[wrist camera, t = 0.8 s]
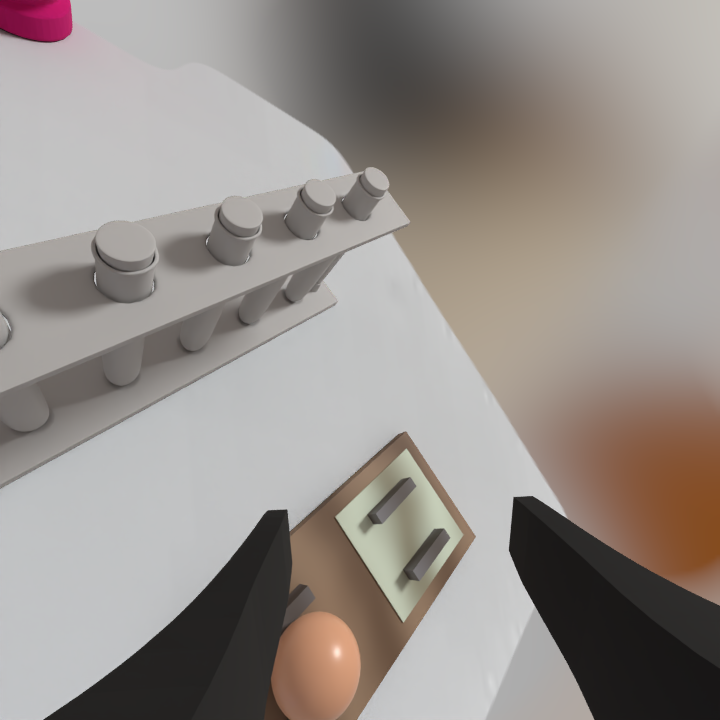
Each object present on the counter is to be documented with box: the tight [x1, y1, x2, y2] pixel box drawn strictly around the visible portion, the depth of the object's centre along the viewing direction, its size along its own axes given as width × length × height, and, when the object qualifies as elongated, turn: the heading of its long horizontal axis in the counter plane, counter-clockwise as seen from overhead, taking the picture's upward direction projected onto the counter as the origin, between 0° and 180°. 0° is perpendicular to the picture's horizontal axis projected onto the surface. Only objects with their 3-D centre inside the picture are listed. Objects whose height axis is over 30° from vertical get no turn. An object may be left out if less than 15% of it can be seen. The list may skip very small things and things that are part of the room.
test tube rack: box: [0, 167, 410, 489], centre depth 20 cm, size 25×4×13 cm, turn 133°
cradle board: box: [264, 432, 476, 720], centre depth 23 cm, size 20×10×2 cm, turn 129°
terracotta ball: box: [271, 611, 361, 720], centre depth 18 cm, size 4×4×4 cm
